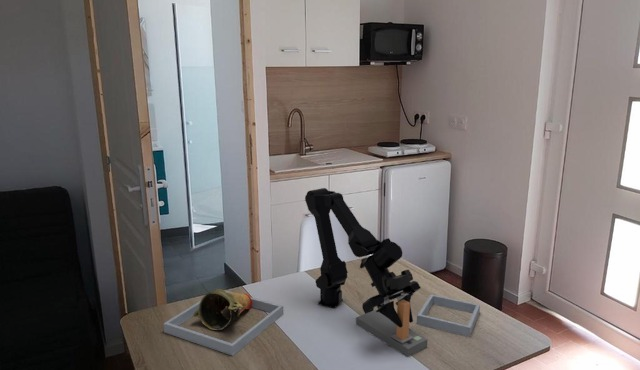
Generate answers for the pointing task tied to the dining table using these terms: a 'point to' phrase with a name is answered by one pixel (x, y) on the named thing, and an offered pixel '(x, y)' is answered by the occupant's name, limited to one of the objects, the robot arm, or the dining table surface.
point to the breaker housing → (390, 333)
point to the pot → (221, 307)
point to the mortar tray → (217, 344)
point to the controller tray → (448, 325)
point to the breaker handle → (403, 322)
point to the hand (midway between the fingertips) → (406, 324)
